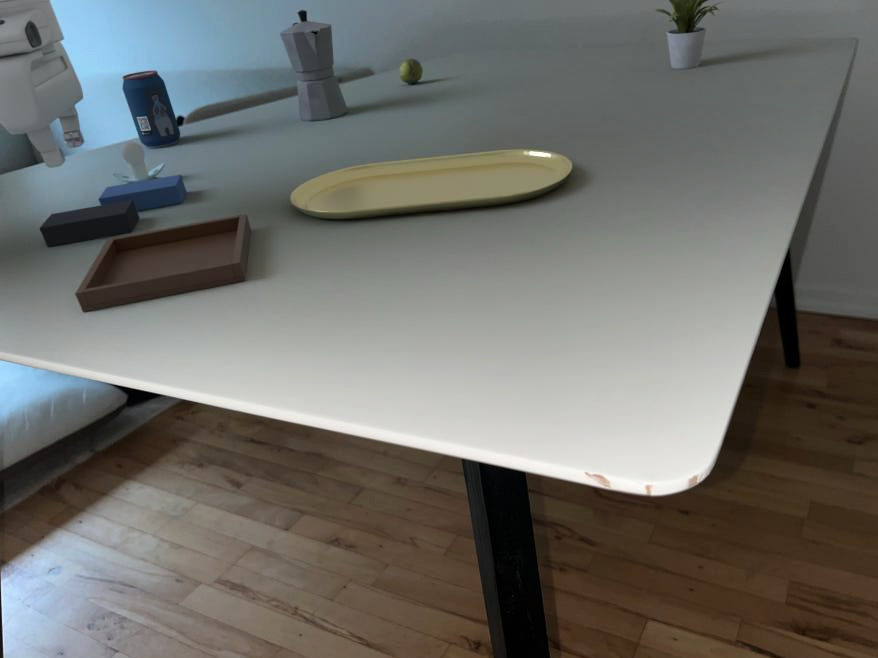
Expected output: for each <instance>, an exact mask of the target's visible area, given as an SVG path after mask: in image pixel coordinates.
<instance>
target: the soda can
mask: <svg viewBox="0 0 878 658" xmlns="http://www.w3.org/2000/svg"><path fill="white" fill-rule="evenodd" d="M122 79H123V80H122V88H121V90H122V91H123V94H124V97H125V100H126V103H127V106H128V110H129V112H130V115H131V118H132V120H133V124H134V126H135V131H136V132H137V136H138V138H139V141H140V142H141V143H142V144H143V145H144V146H145V148H147V149H159V148H165V147H169V146H173V145H176V144H177V143H179V141H180V137H181V130H180V127H179V124H178V120H177V118H176V115H175V112H174V108H173V105H172V102H171V99H170V95H169V92H168V89H167V86H166V83H165V81H164V79H163V78H162V77H161V76H160V74H158V70H145V71H137V72H133V73H129V74H125V75H123V76H122Z"/></svg>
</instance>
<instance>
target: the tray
mask: <svg viewBox="0 0 878 658" xmlns="http://www.w3.org/2000/svg"><path fill="white" fill-rule="evenodd" d="M249 221H250V220H249V217H248V215H247V213H243V214H236V215H231V216H225V217H221V218H215V219H210V220H204V221H198V222H192V223H188V224H182V225H177V226H171V227H165V228H160V229H154V230H148V231H144V232H138V233H133V234H126V235H120V236H116V237H110V238H106V241H105V242H104V245H103V246H102V248H101V249H100V251H99V253H98V254H97V256H96V258H95V260H94V261H93V263H92V265H91V266H90V268H89V270H88V271H87V273H86V275H85V276H84V278H83V280H82V281H81V283H80V284H79V287H78V288H77V290H76V291H75V293H74V294H75V298H76V299H77V302H78V305H79V306H80V309H81V311H82V312H83V313H85V312H91V311H96V310H101V309H106V308H111V307H116V306H122V305H127V304H131V303H132V304H133V303H136V302H142V301H146V300H152V299H157V298H163V297H167V296H168V297H169V296H173V295H179V294H183V293H189V292H194V291H199V290H205V289H209V288H215V287H220V286H225V285H230V284H234V283H239V282H245V281H246V279H247V278H246V277H247V269H248V260H249V252H250V251H249V250H250V241H251V233H252V228H251V224H250V222H249Z"/></svg>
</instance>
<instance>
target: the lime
mask: <svg viewBox="0 0 878 658" xmlns="http://www.w3.org/2000/svg"><path fill="white" fill-rule="evenodd" d="M423 71H424V70H423V65H422V64H421V62H420V61H419V60H417V59H415V58H408V59H406V60H404V61H403V62H402V63H401V65H400V66H399V68H398V76H399V78H400V80H401V81H402V82H403V83H405V84H409V85H414V84H417V83H418V82H419V81H420V80H421V79H422V77H423V73H424V72H423Z"/></svg>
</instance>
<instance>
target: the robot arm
mask: <svg viewBox="0 0 878 658" xmlns="http://www.w3.org/2000/svg"><path fill="white" fill-rule="evenodd" d="M63 40H65V36H64V34H63V31H62V28H61V26H60V23H59V20H58V18H57V16H56V12H55V10H54V8H53V5H52V3H51V0H0V124H1V125H2V126H3V128H4V129H5V130H6V131H7V132H8V133H9V134H10V135H11V136H18V135H23V134H24V135H25V134H26V135H27V137H28V140H29V141H30V143H31V144H32V145H33V146H34V147H35V149H36V150H37V152H38V153H39V154H40V156H41V157H42V160H43V163H44V164H45V166H46V167H47V168H49V169H51V168H57V167H61V166H62V165H63V164H64V163H65V162H66V157H65V155H64V152H63V150H62V148H61V146H58V144H57V142H56V141H55V138H54V137H53V130H52V128H51V126H50V125H51V124H52V123H53V122H55V121H56V120H57V119H58V120H59V123H60V127H61V129H62V132H63V133H62V138H63V140H64V141H65V144H66V146H67V148H69V149H75V148H80V147H81V146H82V145H83V144H84V143H85V139H84V136H83V133H82V131H81V125H80V118H79V113H78V111H77V108H76V105H77V104H78V103H80V102H82V100H83V99H84V92H83V88H82V84H81V81H80V80H79V77H78V76H77V73H76V70H75V68H74V66H73V64H72V62H71V61H72V60H71V59H70V56H69V55H68V53H67V50H66V49H65V47H64V45H63V43H62V42H61V41H63Z"/></svg>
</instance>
